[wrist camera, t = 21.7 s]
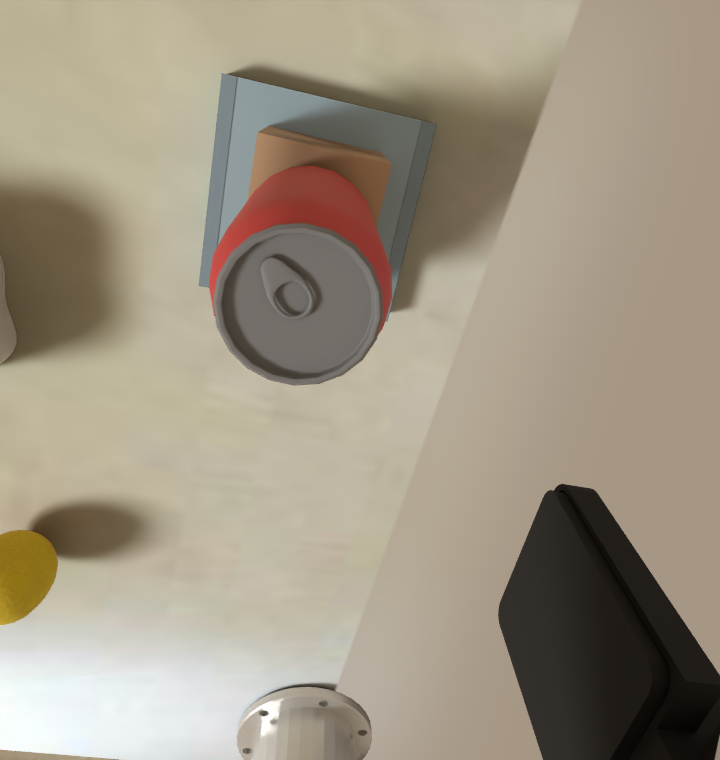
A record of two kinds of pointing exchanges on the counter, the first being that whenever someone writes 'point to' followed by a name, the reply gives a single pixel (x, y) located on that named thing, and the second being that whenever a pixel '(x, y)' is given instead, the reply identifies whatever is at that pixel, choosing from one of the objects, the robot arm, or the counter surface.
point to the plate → (323, 120)
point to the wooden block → (320, 162)
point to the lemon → (24, 573)
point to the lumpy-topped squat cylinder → (5, 322)
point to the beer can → (301, 278)
